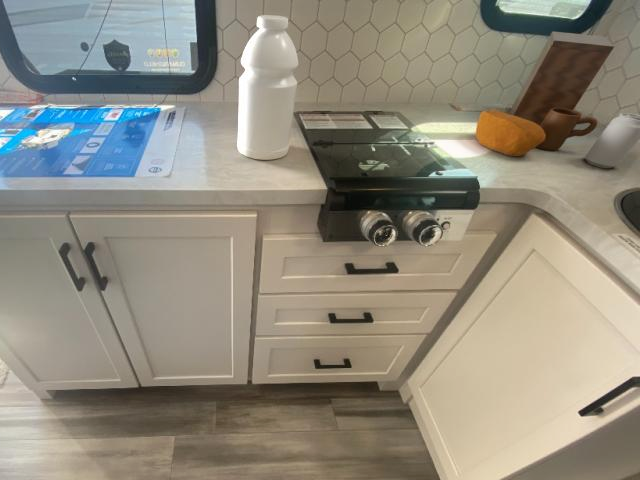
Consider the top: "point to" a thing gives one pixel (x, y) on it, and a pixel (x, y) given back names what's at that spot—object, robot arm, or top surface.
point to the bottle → (267, 91)
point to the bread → (508, 133)
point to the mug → (563, 127)
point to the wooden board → (561, 74)
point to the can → (615, 141)
